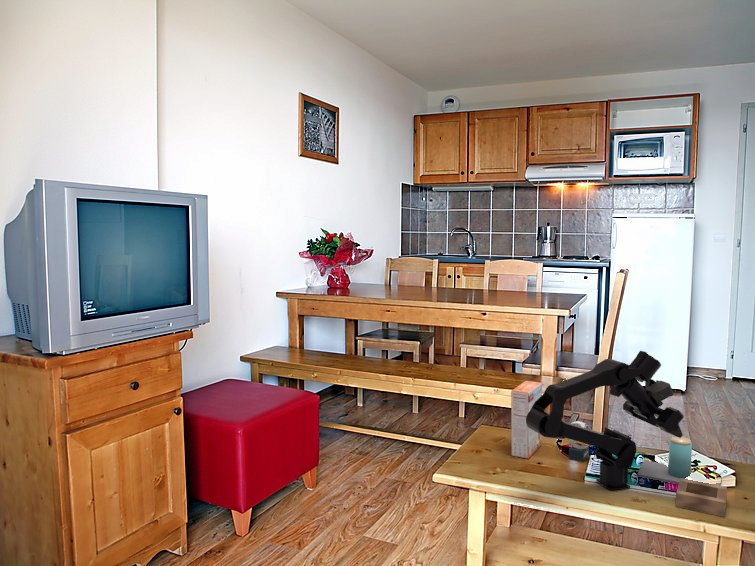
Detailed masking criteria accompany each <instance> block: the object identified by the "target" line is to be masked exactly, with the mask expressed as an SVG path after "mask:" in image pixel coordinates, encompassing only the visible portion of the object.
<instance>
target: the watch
mask: <svg viewBox="0 0 755 566" xmlns="http://www.w3.org/2000/svg"><path fill="white" fill-rule="evenodd" d="M570 424H574V425H577V426H580V427H583V428H586V429H590V430H592V428H591V427H590V425H589V424H588V423H585V422H583V421H579V420H576V421H572V422H571V423H570ZM566 440H567V442H568V443H569V445H570V447H569V448H568V460H572V461H577V462H581V463H582V462H583V463H584V462H585V460H587V459H588V458H589V453H590V451H589V449H590V448H589V447H590V445H588V444H586V445H582V444H577V443H575V440H572V439H568V438H566Z"/></svg>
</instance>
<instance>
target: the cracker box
mask: <svg viewBox="0 0 755 566" xmlns="http://www.w3.org/2000/svg"><path fill="white" fill-rule="evenodd" d="M542 395H543V383H542V382H538V381H531V380H525V381H523V382H521V384H519V385H517V387H515V388H513V389H512V390H511V392H510V397H511V398H510V401H511V403H510V404H511V405H510V406H511V413H510V414H511V416H510V418H511V422H510V423H511V427H510V429H511V430H510V431H511V432H510V433H511V434H510V435H511V437H510V439H511V444H510V445H511V457H515V458H519V459H520V458H522V459H525V460H530V459H531V457H532V456H533V455H534V454H535V453H536V452H537V450H538V449H539V448H541V446H542V443H543V441H542V439H543V436H542V435H541V434H539V433H537V432H535V431H533V430H532V429H530V428H528V427H527V424H526V416H527V414H528V413H529V412H530V410H531V408H532V406H533V404H534V403H535V401H536V400H537V399H539V398H540V397H541V396H542Z"/></svg>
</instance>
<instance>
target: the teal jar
mask: <svg viewBox="0 0 755 566" xmlns="http://www.w3.org/2000/svg"><path fill="white" fill-rule="evenodd" d="M668 443H669V446H668V447H669V448H668V449H669V450H668V463H667V464H668V473H669V474H670V475H672V476H674V477H678V478H686V477H688V476H690V474H691V469H692V457H693V456H692V454H693V451H692V450H693V443H692V440H691V439H690V438H688V437H685V436H682V437H681V438H679V437H677V436H674V435H672V436H670V439H669V441H668Z"/></svg>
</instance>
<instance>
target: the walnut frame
mask: <svg viewBox="0 0 755 566" xmlns="http://www.w3.org/2000/svg"><path fill="white" fill-rule="evenodd" d="M727 488H728V487H727V486H723V485H721V486H719V485H714V484H709V483H703V482H698V481H693V480H688V479H682V478H681V479H680V482H679V485H677V490H676V493H675V507H676V508H681V509H687V510H691V511H695V512H700V513H704V514H709V515H714V516H717V517H718V516H719V517H723V518H725V517H726V508H727V507H726V506H727V494H728V493H727V492H728V491H727V490H728V489H727Z"/></svg>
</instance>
